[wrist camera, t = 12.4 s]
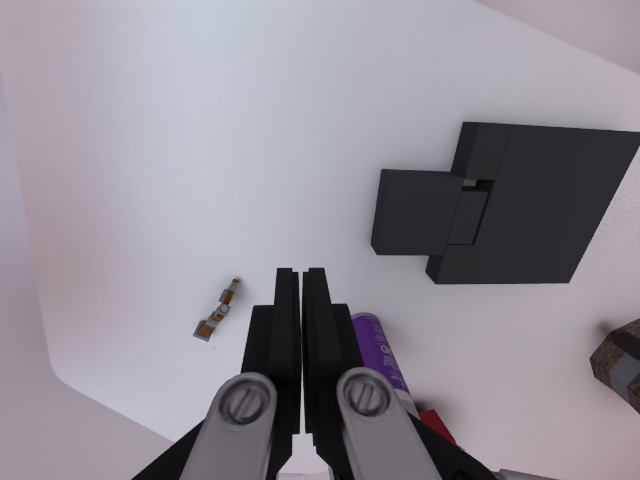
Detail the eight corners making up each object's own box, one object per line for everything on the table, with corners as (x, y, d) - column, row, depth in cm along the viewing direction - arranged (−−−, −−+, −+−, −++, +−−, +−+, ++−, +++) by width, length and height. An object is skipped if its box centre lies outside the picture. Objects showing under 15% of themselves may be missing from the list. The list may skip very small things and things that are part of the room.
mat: (462, 121, 25) (480, 122, 22) (616, 131, 26) (646, 132, 24) (425, 272, 31) (435, 284, 29) (549, 272, 33) (568, 283, 31)
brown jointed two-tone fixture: (247, 279, 28) (231, 318, 25) (223, 308, 33) (207, 343, 30) (231, 272, 28) (213, 310, 25) (209, 302, 33) (191, 337, 30)
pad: (381, 169, 26) (389, 174, 23) (476, 172, 27) (493, 178, 25) (370, 244, 29) (376, 255, 27) (455, 245, 30) (468, 255, 28)
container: (384, 314, 33) (448, 451, 20) (373, 343, 35) (424, 486, 22) (348, 310, 32) (389, 449, 19) (338, 339, 34) (369, 485, 21)
